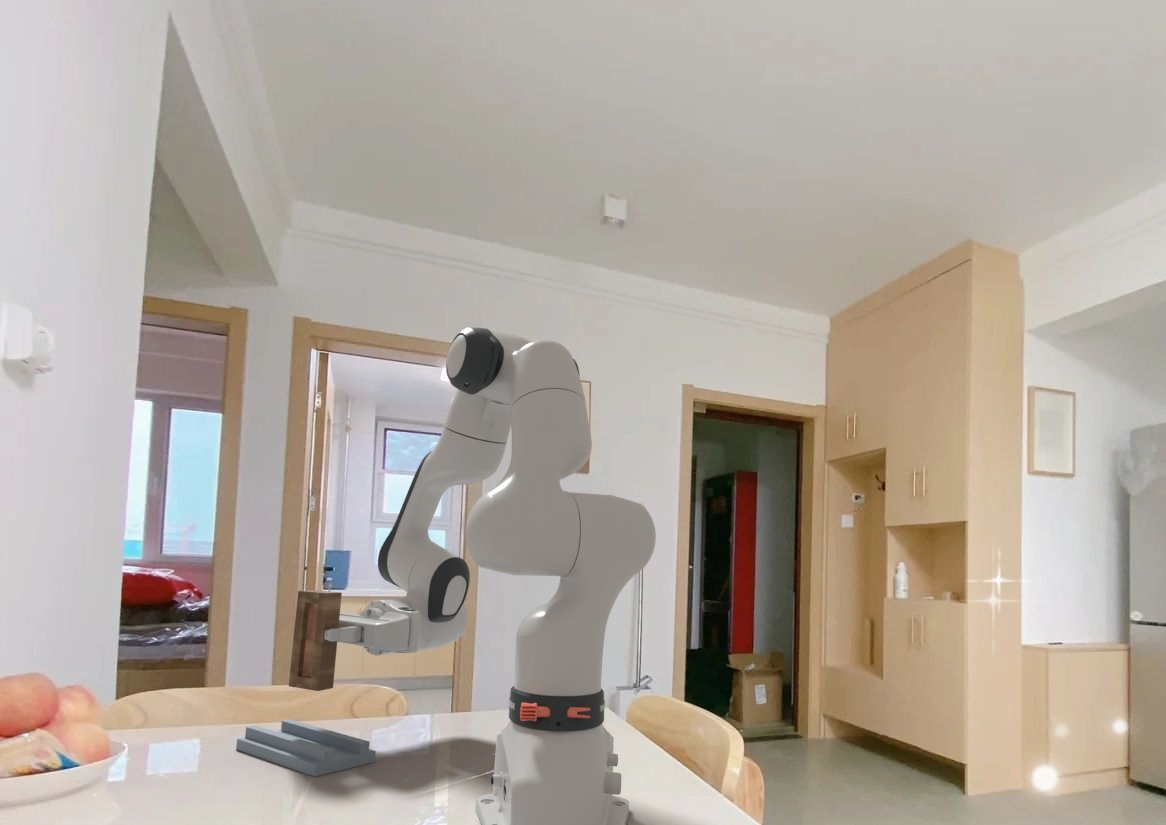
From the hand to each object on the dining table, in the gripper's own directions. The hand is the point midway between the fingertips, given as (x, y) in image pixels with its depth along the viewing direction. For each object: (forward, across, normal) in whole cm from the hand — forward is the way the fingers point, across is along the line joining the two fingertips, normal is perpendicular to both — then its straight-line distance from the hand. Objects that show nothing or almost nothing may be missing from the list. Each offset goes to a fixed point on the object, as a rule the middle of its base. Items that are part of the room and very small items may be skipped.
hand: (311, 632), depth 114 cm
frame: (-1, 0, +8) cm, 8 cm away
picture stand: (-1, 0, +18) cm, 18 cm away
